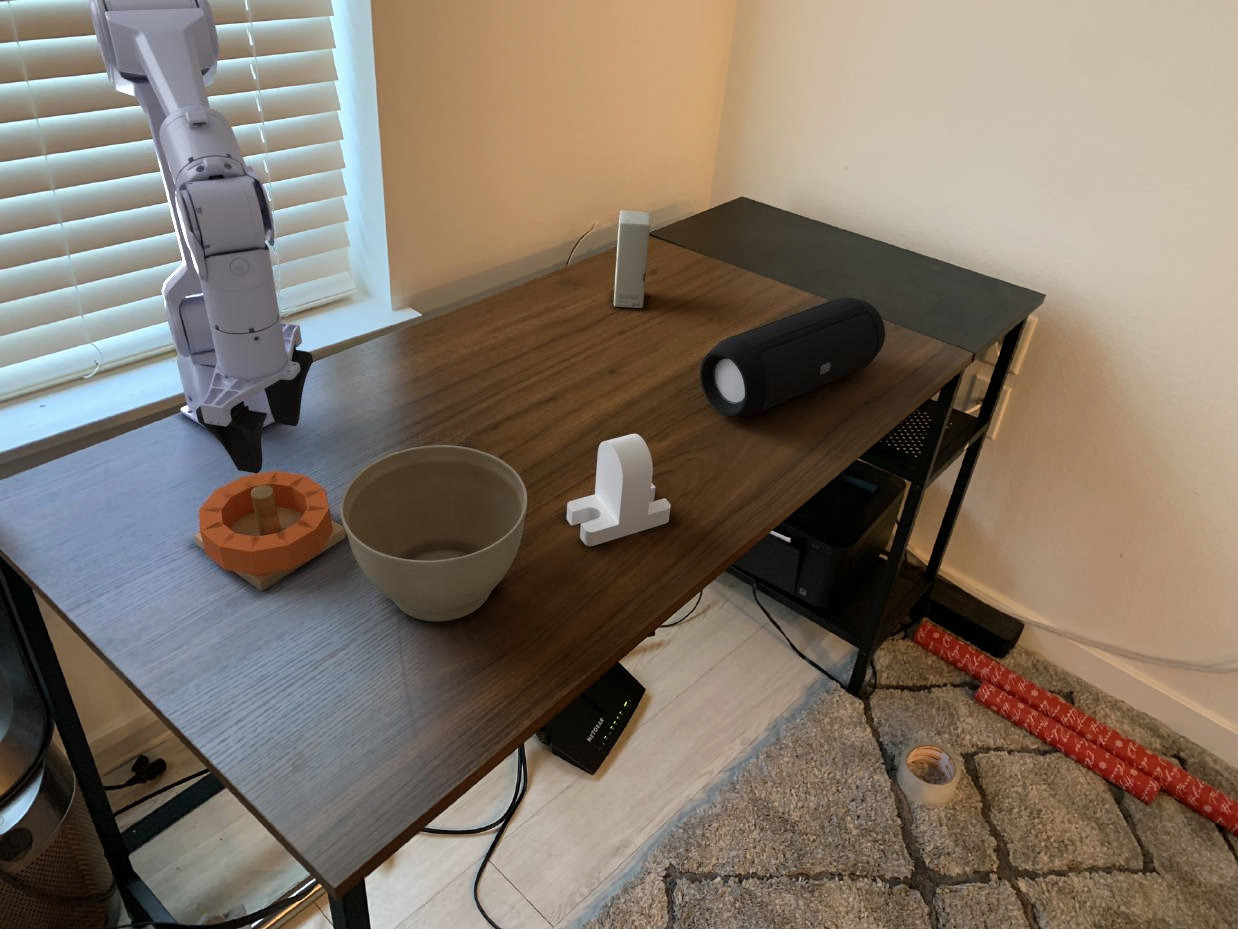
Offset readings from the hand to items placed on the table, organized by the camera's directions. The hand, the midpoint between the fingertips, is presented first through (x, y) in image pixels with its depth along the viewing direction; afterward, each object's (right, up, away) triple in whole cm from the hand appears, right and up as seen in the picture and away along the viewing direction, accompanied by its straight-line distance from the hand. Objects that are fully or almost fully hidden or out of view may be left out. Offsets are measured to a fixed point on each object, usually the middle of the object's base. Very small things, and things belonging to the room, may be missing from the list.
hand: (268, 445), depth 89 cm
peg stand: (-1, -9, +4) cm, 10 cm away
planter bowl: (+16, -14, +1) cm, 21 cm away
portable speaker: (+55, +8, +34) cm, 65 cm away
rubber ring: (-1, -8, +3) cm, 9 cm away
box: (+34, +22, +50) cm, 65 cm away
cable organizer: (+33, -8, +10) cm, 35 cm away
